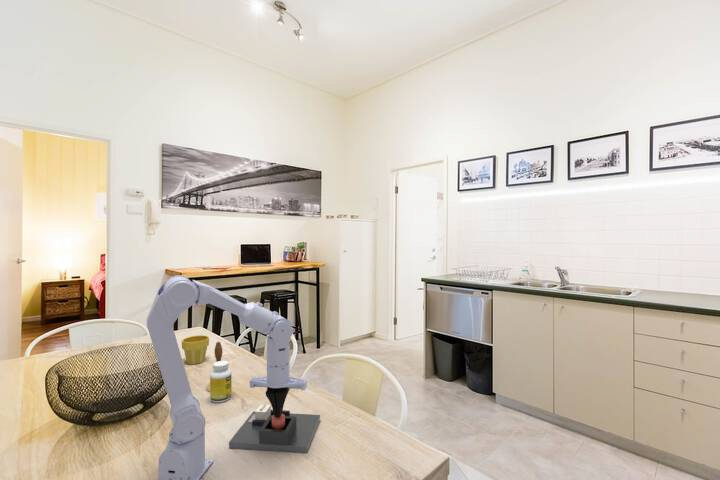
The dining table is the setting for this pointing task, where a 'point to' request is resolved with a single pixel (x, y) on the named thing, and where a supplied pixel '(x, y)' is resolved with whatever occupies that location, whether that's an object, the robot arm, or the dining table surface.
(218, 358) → the hand bell
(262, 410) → the sliding toggle
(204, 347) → the plant pot
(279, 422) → the button
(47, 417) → the dining table surface
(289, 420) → the panel
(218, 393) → the pill bottle
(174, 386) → the robot arm
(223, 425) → the dining table surface
